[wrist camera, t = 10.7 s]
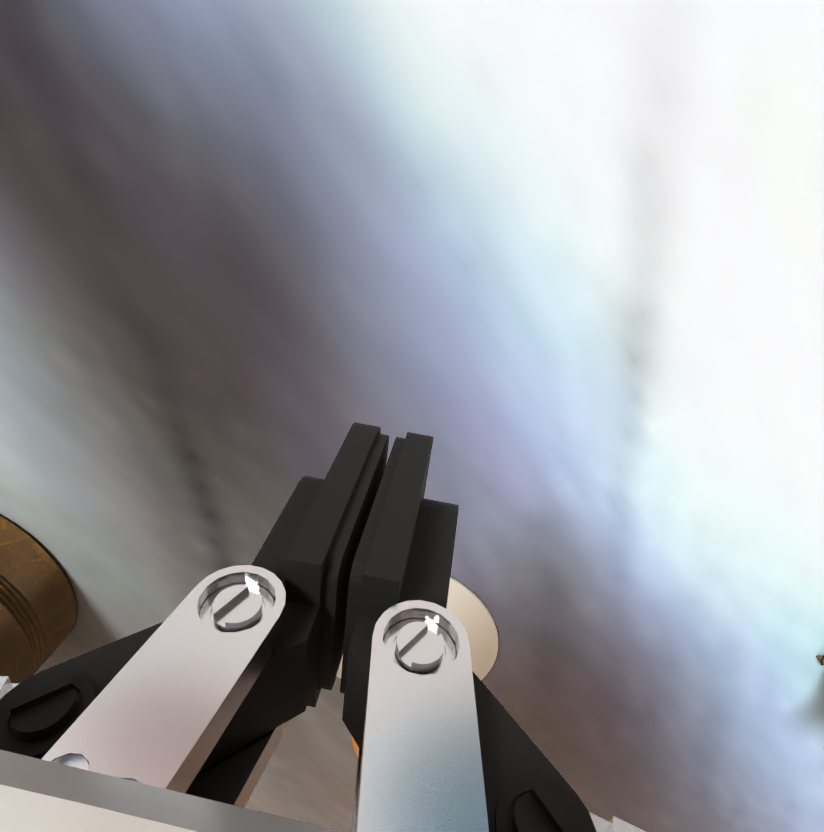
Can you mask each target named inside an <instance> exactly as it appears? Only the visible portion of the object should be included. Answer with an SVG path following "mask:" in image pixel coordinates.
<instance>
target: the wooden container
mask: <svg viewBox="0 0 824 832" xmlns="http://www.w3.org/2000/svg"><path fill="white" fill-rule="evenodd" d="M76 615H77V607H76V601H75V597H74V594H73V591H72V588H71V586H70V584H69V582H68V580H67V578H66V576H65V574H64V573H63V571H62V570H61V569H60V567H59V566H58V565H57V563H56V562H55V561H54V560H53V559H52V557H51V556H50V555H49V554H48V553H47V552H46V551H45V550H44V549H43V548H42V547H41V546H40V545H39V544H38V543H37V542H36V541H35V540H34V539H32V538H31V537H30V536H29V535H28V534H26V533H25V532H24V531H22V530H21V529H20V528H18V527H17V526H16V525H14V524H13V523H11V522H10V521H8V520H7V519H5V518H3V517H1V516H0V676H9V679H10V681H11V683H21V682H22V681H24V680H26V679H28V678H30V677H32V676H33V674H34V673H35V672H36V671H37V669H39V668H40V667H41V665H42V664H43V663H44V662H45V661H46V660H47V659H48V658H49V656H50V655H51V654H52V653H53V652H54V651H55V649H56V648H57V647H58V646H59V645H60V644H61V642H62V641H63V640H64V639H65V638H66V637H67V635H68V634H69V633H70V632H71V630H72V629H73V627H74V624H75V621H76Z"/></svg>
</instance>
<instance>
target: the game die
mask: <svg viewBox="0 0 824 832" xmlns="http://www.w3.org/2000/svg"><path fill="white" fill-rule="evenodd" d="M816 657H817V658H818V660H819V661H820V663H821V665H824V656H816Z"/></svg>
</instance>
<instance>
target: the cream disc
mask: <svg viewBox="0 0 824 832" xmlns="http://www.w3.org/2000/svg"><path fill="white" fill-rule="evenodd" d="M446 609H448V610H449V611H450V612H451V613H452V614H453V615H455V616H456V617H457V618H458V619H459V621H460V622H461V624H462V625H463V627H464V628H465V630H466V633H467V636H468V640H469V644H470V654H471V663H472V671H473V672H474V673H475V674H476V675H477V677H478V678H479V679H480V680H482V679H483V678H484V677H485V676H486V675H487V674H488V673H489V671H490V670H491V668H492V667H493V665H494V662H495V660H496V657H497V653H498V633H497V628H496V625H495V623H494V620H493V618H492V616H491V614H490V613H489V611H488V609H487V608H486V606H485V605H484V604H483V603H482V601H481V600H480V599H479V598H478V597H477V596H476V595H475V594H474V593H473V592H472V591H471V590H469V589H468V588H467V587H466V586H464V585H463V584H462V583H460V582H459V581H457V580H455V579H454V578H452V577H450V583H449V592H448V600H447V608H446ZM342 661H343V656H342V659H341V662H340V665H339V669H338V672H337V675H336V676H337V677H339V678H340V679H341V673H342Z"/></svg>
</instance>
